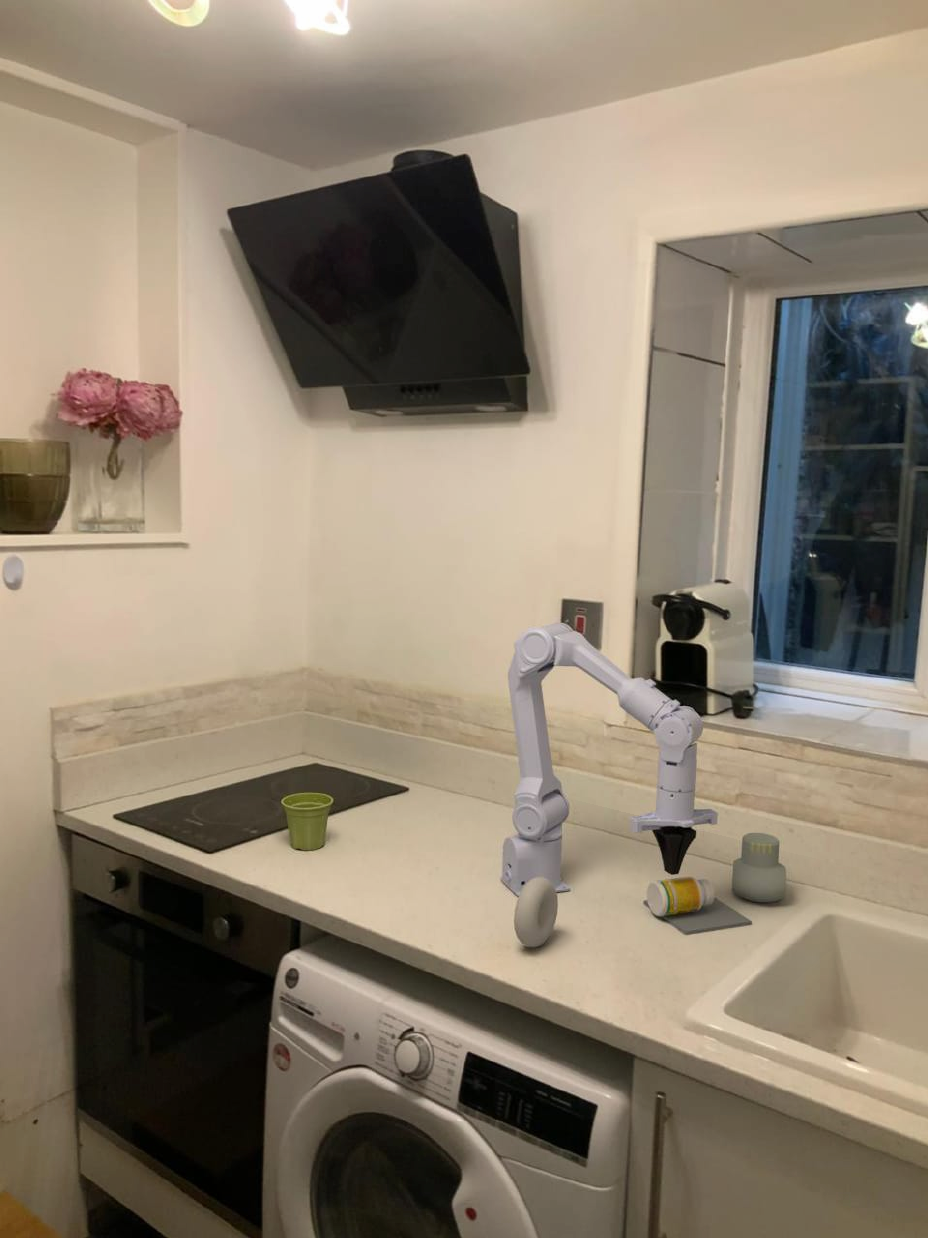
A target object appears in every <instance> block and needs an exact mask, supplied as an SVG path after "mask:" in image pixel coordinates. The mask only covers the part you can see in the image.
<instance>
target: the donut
mask: <svg viewBox="0 0 928 1238" xmlns="http://www.w3.org/2000/svg"><path fill="white" fill-rule="evenodd" d="M557 893H558V892H556V889H555V887H554V885H553V884H552V882H551V881H550V880H548V879H546V878H543V877H536V878H533V879H531V880H530V881H528V882H527V883H526V884H525V885H524V887H523V889H522V891H521V892H520V895H519V896H517V897H518V898H517V900H516V904H515V908H514V919H513V924H514V925H513V926H514V932H515V934H516V938H517V939H518V940H519V942H520V943H521V944H522V945H523V946H525V947H527V948H538V947H540V946H541V945H543V944H545V943H546V941H547V940H548V939H549V937H550V936H551V934H552V932H553V930H554V926H555V924H556V919H557V916H558V915H557V914H558V907H559V905H558V904H559V903H558V894H557Z"/></svg>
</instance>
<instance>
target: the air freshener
mask: <svg viewBox="0 0 928 1238" xmlns="http://www.w3.org/2000/svg"><path fill="white" fill-rule="evenodd" d="M741 840H742V841H741V843H742V844H741V855H740V857H738V858H736V859H734V860H733V862H732V873H731V875H732V876H731V877H732V878H731V892H733V893H734V894H736V895H737V896H739V897H740V898H742V899H745V900H747V901H750V902H754V903H764V904H765V903H773V902H777V901H780V900H783V899H784V898H785V897H786V892H787V871H786V870H787V869H786V866H784V865H783V864H782V863H780V862H779V860H780V843H781V842H780V840H779V839H778V838H777V837H776V836H774V835H772V834H768V833H764V832H763V833H762V832H748V833H745V834H744V835H743V836H742V839H741Z"/></svg>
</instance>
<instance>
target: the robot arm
mask: <svg viewBox="0 0 928 1238" xmlns="http://www.w3.org/2000/svg"><path fill="white" fill-rule="evenodd" d="M513 646H514V653H513V656H512V658H511V661H510V665H509V667H508V668H509V669H508V671H507V681H508V689H509V695H510V698H509V699H510V703H511V705H510V707H511V713H512V720H513V727H514V734H515V742H516V743H515V744H516V751H517V756H518V757H517V758H518V765H519V766H518V767H519V774H520V780H519V784H518V786H517V788H516V790H515V793H514V801H515V802H514V803H515V804H514V808H513V811H512V815H511V816H512V817H511V818H512V823H513V827H514V829H515V830H516V832H517V833H516V834H514V835H512V836H508V837H506V838H505V839H504V841H503V845H502V867H501V869H502V870H501V873H502V874H501V876H500V878H499V880H500V881H501V882H502V883H503V884H504V885H505V886H506V887H507V888H508V889H510V890H511V892H512V893H514V895H516V896H517V897H519V895H520V892H521V891H522V889H523V887H524V885H525V884H526V883H527V882H528V881H530V880H531V879H533V878H536V877H543V878H546V879H548V880H550V881H551V882H552V884H553V885H554V887H555V889H556V893H558V892H559V893H560V892H567V891H570V890H571V887H570V886H569V885H568V884H567V883H565V882H564V881H563V880H562V879H561V873H562V872H561V869H562V849H563V848H562V846H563V845H562V844H563V843H562V842H563V823H564V822H566V821H567V819H568V817H569V814H570V803H569V801H568V799H567V797H566V795H565V794H564V791H563V787H562V782H561V781H560V780H559V778H558V777H556V775H555V774H554V771H553V770H554V769H553V764H552V763H553V762H552V761H553V760H552V755H551V748H550V739H549V733H548V731H549V730H548V723H547V716H546V710H545V701H544V693H543V685H542V682H543V680H545V678H546V677H547V676H548V674H549V673H550V672H551V671H552V670H553V668H554V667H576V668H577V669H579V670H581V671H582V672H584V673H585V674H587V675H588V676H590V677H591V678H593V679H594V680H595V681H596V682H598V683H600V684H601V685H603V686H604V687H605V688H607V689H609V691H611V692H613V693H614V694H615V695H617V701H618V704H619V705H618V706H619V707H620V708H621V709H622V710H624V711H625V712H626V713H627V714H629V715H630V716H631V717H633V718H634V719H635V720H637V721H638V722H639V723H640V724H642V725H643V726H644V727H645V728H647V729H648V730H649V731H650V732H653V735H654V739H655V741H656V743H657V744H658V746H659V754H658V763H657V766H658V767H657V782H656V783H657V784H656V802H655V805H656V806H655V810H654V811H651V812H648V813H644V814H641V815H638V816H632V817H630V819H629V821H630V822H629V823H630V824H629V830H631V831H632V832H634V833H635V834H642V833H643V832H645V831H646V832H647V831H652V834H653V835H654V837H655V839H656V842H657V844H658V847H659V851H660V854H661V859H662V863H663V868H664V869H663V870H664V872H665V873H668V874H669V875H671V876H672V875H679V874H680V871H681V867H682V865H683V861H684V859H685V856H686V854H687V852H688V850H689V848H690V847H691V845H692V843H693V842H694V840H695V839H696V837H697V830H696V829H694V828H693V827H694V826H699V825H707V824H709V825H712V826H713V825H718V815H719V813H718V811H715V810H713V809H712V808H705V809H703V808H702V809H699V808H698V809H697V808H696V809H695V797H696V779H697V761H698V760H697V754H698V753H697V750H698V743H697V741H698V740H699V739H700V738H701V736H702V735H703V730H704V724H703V720H702V718H701V716H700V715H699V713H697V711H695V709H694V708H693V707H690V706H688V705H687V706H686V705H683V706H681V702H679V701H678V700H677V699H674V700H672V699H671V698H670V697H669V696H667V695H666V694H665V693H664V692H662V691H660V690H659V689H658V688H657V687H655V686H656V685H657V683H656V682H655V681H654V680H652V679H650V678H649V679H645V678H643V677H635V678H631V677H630V676H629V675H627V674H626V673H625V672H624V671H623V670H621V669H620V668H619V667H618V666H617V665H616V664H615V663H613V661H612V660H610V659H609V658H607V657H606V656H605V655H604V654H603V653H602V652H600V650H598V649H597V648H596V647H595V646H593V644H591V643H590V642H589V640H587V639H586V637H584V635H583V634H582V633H580V632H578V631H576V630H573V628H572V627H571V626H570V625H569V624H567V623H564V622H553V623H550V624H548V625H543V626H536V627H535V626H534V627H530V628H527V629H526V630H525V631H524V632H523V633H522V634H521V635H520V636H519V637H518V638H516V640H515V641H514V642H513Z"/></svg>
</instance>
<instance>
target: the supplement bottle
mask: <svg viewBox="0 0 928 1238" xmlns="http://www.w3.org/2000/svg"><path fill="white" fill-rule="evenodd" d="M714 897H715V890H714V887H713V885H712V883H711V882H710V881H709V880H708V879H705V878H703V879H696V878H694V877H693V876H685V877H683V876H682V877H676V878H675V877H674V878H668V879H659V880H653V881H651V882H650V883H649V884H648V885H647V888H646V900H647V901H648V905H649V907H650V908H649V907H648V908H649V909H650V911H651V912H652V914H654V915H655V916H657V917H661V916H666V915H673V914H680V913H688V912H695V911H698V910H699V909H700V908H701V907H702V906H707V905H711V904H712V903H713V901H714Z"/></svg>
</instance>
